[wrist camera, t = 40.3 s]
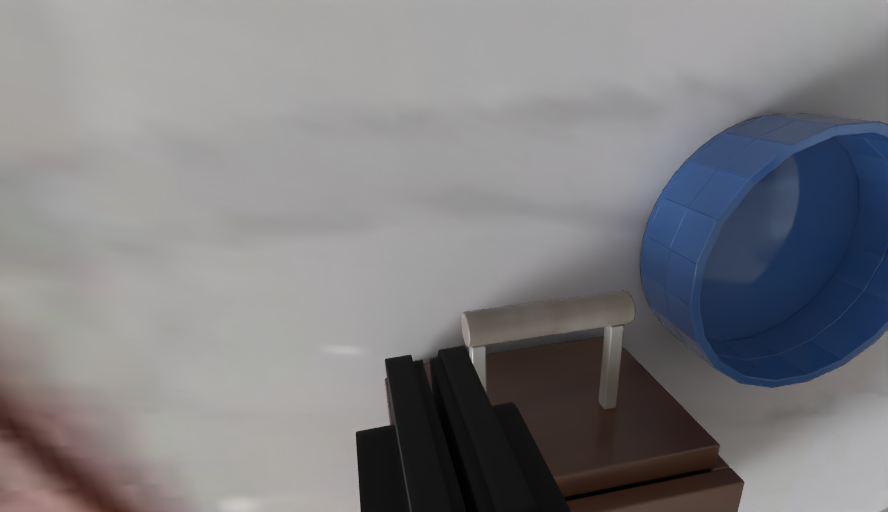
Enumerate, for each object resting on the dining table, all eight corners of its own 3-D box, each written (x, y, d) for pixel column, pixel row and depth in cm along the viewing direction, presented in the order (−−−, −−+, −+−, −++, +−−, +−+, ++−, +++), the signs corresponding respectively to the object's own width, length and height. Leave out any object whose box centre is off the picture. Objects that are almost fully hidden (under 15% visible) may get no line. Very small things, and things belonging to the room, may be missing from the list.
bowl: (654, 123, 25) (716, 135, 21) (888, 104, 27) (986, 112, 23) (629, 358, 30) (674, 405, 26) (826, 327, 32) (897, 366, 28)
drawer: (385, 269, 24) (405, 373, 16) (620, 241, 26) (746, 321, 18) (416, 568, 32) (440, 740, 24) (594, 530, 34) (673, 676, 26)
